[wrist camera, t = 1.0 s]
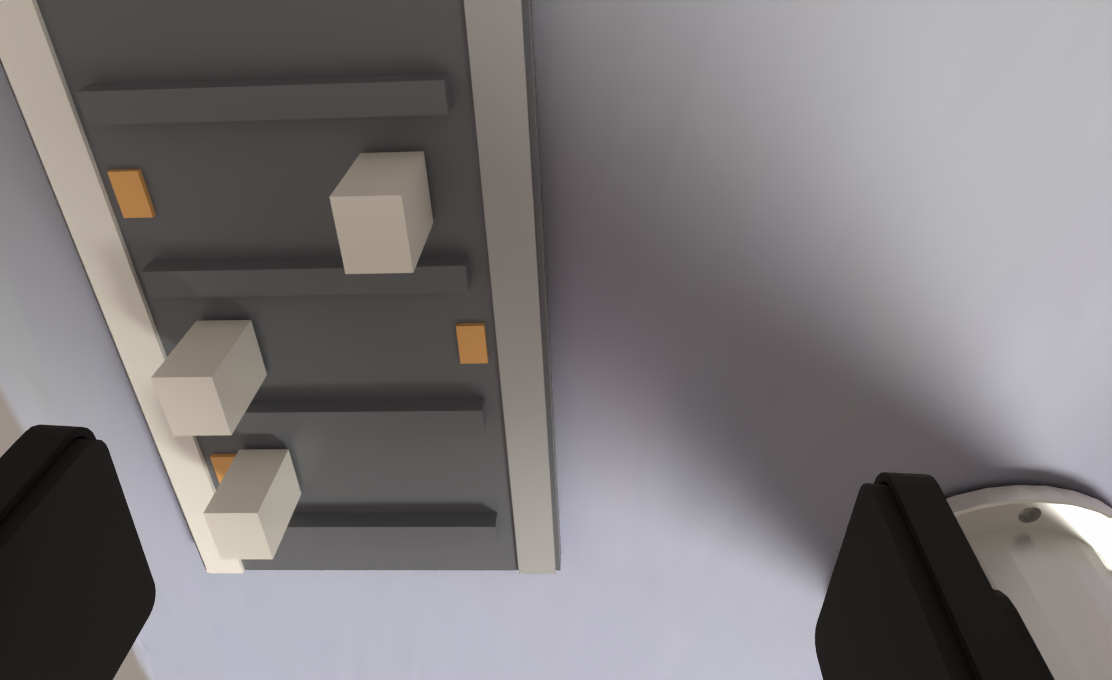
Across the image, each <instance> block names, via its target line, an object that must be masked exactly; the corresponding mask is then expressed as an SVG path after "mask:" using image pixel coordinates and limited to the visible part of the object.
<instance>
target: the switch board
mask: <svg viewBox="0 0 1112 680" xmlns="http://www.w3.org/2000/svg"><path fill="white" fill-rule="evenodd" d="M0 63H1V65H2V67H3V70H4V72H5V75H6V77H7V80H8V82H9V85H10V87H11V90H12V92H13V95H14V97H15V100H16V102H17V105H18V107H19V110H20V112H21V114H22V117H23V119H24V122H25V124H26V127H27V129H28V132H29V134H30V137H31V139H32V142H33V144H34V147H35V149H36V152H37V154H38V156H39V159H40V161H41V164H42V166H43V169H44V171H45V174H46V176H47V179H48V181H49V184H50V186H51V189H52V191H53V194H54V196H55V199H56V201H57V203H58V206H59V208H60V211H61V213H62V216H63V218H64V221H65V223H66V226H67V228H68V231H69V233H70V236H71V238H72V241H73V243H74V246H75V248H76V250H77V253H78V255H79V258H80V260H81V263H82V265H83V268H84V270H85V273H86V275H87V278H88V280H89V283H90V285H91V288H92V290H93V292H94V295H95V297H96V300H97V302H98V305H99V307H100V310H101V312H102V315H103V317H104V320H105V322H106V325H107V327H108V330H109V332H110V335H111V337H112V339H113V342H114V344H115V347H116V349H117V352H118V354H119V357H120V359H121V362H122V364H123V367H124V369H125V372H126V374H127V377H128V379H129V381H130V384H131V386H132V389H133V391H134V394H135V396H136V399H137V401H138V404H139V406H140V409H141V411H142V414H143V416H144V419H145V421H146V424H147V426H148V428H149V431H150V433H151V436H152V438H153V441H154V443H155V446H156V448H157V451H158V453H159V456H160V458H161V461H162V463H163V466H164V468H165V470H166V473H167V475H168V478H169V480H170V483H171V485H172V488H173V490H174V493H175V495H176V498H177V500H178V503H179V505H180V508H181V510H182V513H183V515H184V517H185V520H186V522H187V525H188V527H189V530H190V532H191V535H192V537H193V540H194V542H195V545H196V547H197V550H198V552H199V555H200V557H201V559H202V562H203V564H204V567H205V569H206V570H207V572H208V573H243V572H244V570H519V574H556V570H560V565H561V544H560V525H559V506H558V488H557V469H556V451H555V432H554V414H553V395H552V377H551V358H550V340H549V321H548V303H547V284H546V266H545V247H544V229H543V210H542V192H541V173H540V155H539V136H538V117H537V99H536V80H535V62H534V43H533V25H532V6H531V0H0ZM416 151H424V156H425V163H426V171H427V178H428V186H429V193H430V201H431V208H432V215H433V225H432V227H431V230H430V232H429V235H428V237H427V240H426V242H425V245H424V247H423V250H422V252H421V255H420V257H419V260H418V262H417V265H416V267H415V270H414V272H413V273H378V274H345V270H344V265H343V260H342V255H341V250H340V246H339V241H338V236H337V231H336V226H335V221H334V217H333V212H332V207H331V202H330V195H331V194H332V193H333V191H334V190H335V188H336V187H337V185H338V184H339V183H340V181H341V180H342V178H343V177H344V176H345V174H346V173H347V171H348V170H349V168H350V167H351V166H352V164H353V163H354V161H355V160H356V159H357V157H358V156H359V154H360V153H379V152H416ZM210 320H251V321H252V325H253V328H254V332H255V335H256V339H257V342H258V345H259V349H260V352H261V356H262V359H263V363H264V366H265V370H266V373H267V376H266V378H265V379H264V381H263V383H262V384H261V386H260V388H259V389H258V391H257V393H256V395H255V396H254V398H253V400H252V401H251V403H250V405H249V406H248V408H247V410H246V411H245V413H244V415H243V416H242V418H241V420H240V422H239V423H238V425H237V427H236V428H235V430H234V432H233V433H232V435H210V436H173V434H172V431H171V428H170V426H169V423H168V421H167V418H166V415H165V413H164V410H163V408H162V405H161V402H160V400H159V397H158V395H157V392H156V390H155V387H154V384H153V382H152V379H151V377H152V376H153V374H154V373H155V372H156V371H157V369H158V368H159V367H160V366H161V364H162V363H163V362H164V361H165V359H166V358H167V357H168V356H169V354H170V353H171V352H172V351H173V349H174V348H175V347H176V346H177V344H178V343H179V342H180V341H181V339H182V338H183V337H184V336H185V334H186V333H187V332H188V331H189V329H190V328H191V327H192V326H193V324H194V323H195V322H196V321H210ZM250 449H289V453H290V456H291V460H292V463H293V467H294V470H295V474H296V477H297V480H298V484H299V487H300V491H301V496H300V498H299V500H298V503H297V505H296V507H295V510H294V512H293V514H292V517H291V519H290V521H289V523H288V526H287V528H286V530H285V533H284V535H283V537H282V540H281V542H280V544H279V546H278V549H277V551H276V553H275V556H274V558H273V559H221V558H220V556H219V553H218V550H217V548H216V545H215V543H214V540H213V537H212V535H211V532H210V530H209V527H208V524H207V522H206V519H205V517H204V514H203V513H204V511H205V509H206V507H207V506H208V504H209V502H210V500H211V499H212V497H213V495H214V493H215V491H216V490H217V488H218V486H219V484H220V483H221V481H222V479H223V477H224V476H225V474H226V472H227V470H228V468H229V467H230V465H231V463H232V461H233V460H234V458H235V456H236V454H237V453H238V451H239V450H250Z"/></svg>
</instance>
